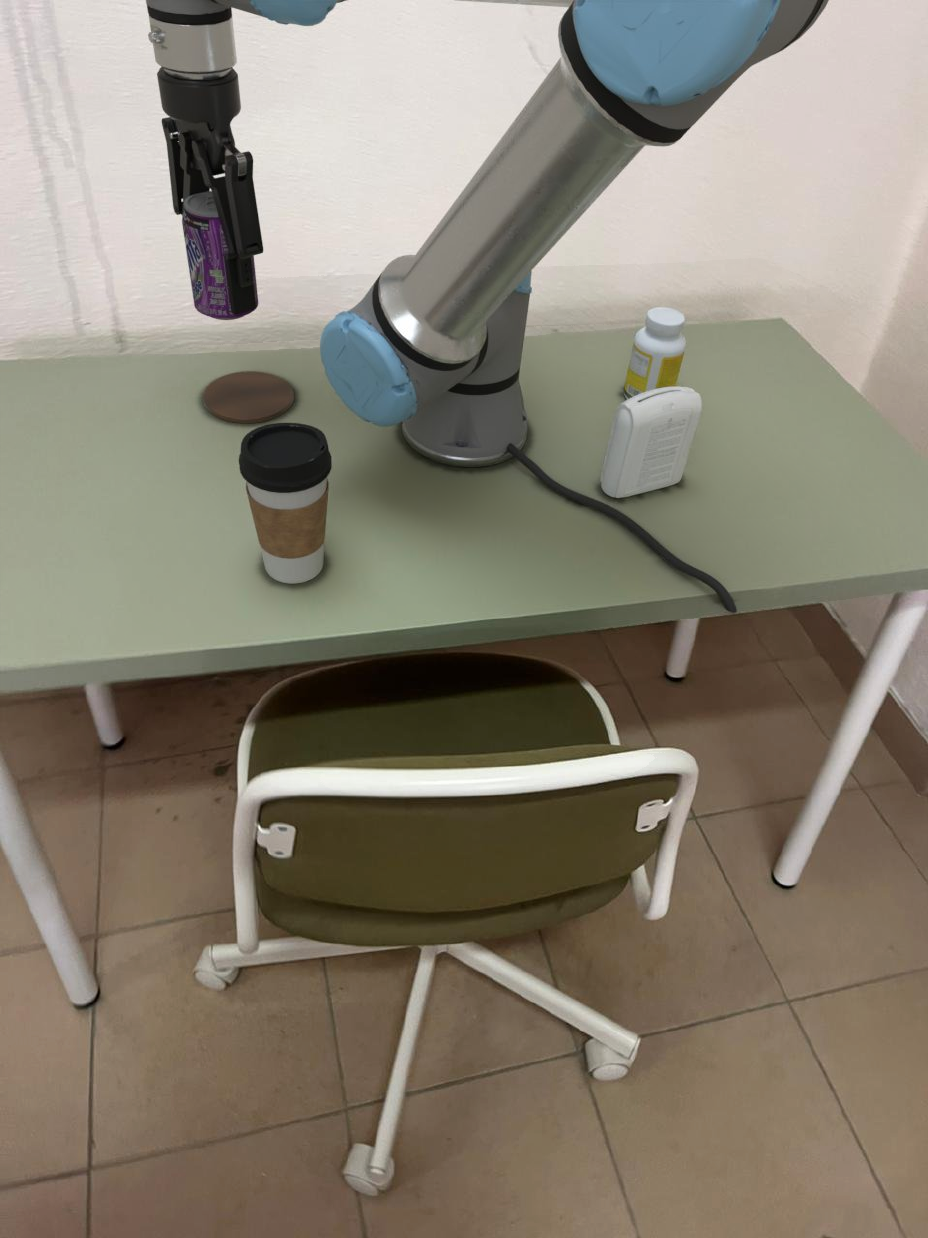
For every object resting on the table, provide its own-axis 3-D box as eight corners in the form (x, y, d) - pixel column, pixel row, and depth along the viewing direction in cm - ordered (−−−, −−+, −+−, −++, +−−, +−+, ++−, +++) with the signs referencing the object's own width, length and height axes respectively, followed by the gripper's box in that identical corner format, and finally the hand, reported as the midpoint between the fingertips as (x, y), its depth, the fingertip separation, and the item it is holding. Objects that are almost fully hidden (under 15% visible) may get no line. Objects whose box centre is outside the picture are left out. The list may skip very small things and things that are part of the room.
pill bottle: (678, 396, 121) (701, 314, 113) (659, 417, 117) (680, 334, 109) (634, 379, 123) (653, 298, 115) (614, 399, 119) (631, 317, 111)
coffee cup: (321, 599, 90) (314, 476, 79) (239, 583, 90) (221, 459, 80) (346, 545, 95) (342, 424, 85) (268, 531, 96) (256, 408, 86)
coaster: (310, 404, 114) (310, 400, 113) (233, 433, 108) (232, 429, 108) (263, 366, 119) (262, 362, 119) (187, 392, 114) (186, 387, 113)
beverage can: (198, 294, 106) (183, 187, 98) (260, 295, 107) (250, 190, 98) (191, 324, 101) (174, 214, 93) (256, 325, 102) (246, 216, 93)
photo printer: (664, 463, 110) (690, 372, 101) (685, 484, 107) (713, 392, 99) (593, 482, 106) (613, 389, 97) (613, 504, 104) (635, 410, 95)
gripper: (111, 45, 90) (152, 272, 106) (216, 102, 80) (244, 342, 96) (180, 36, 93) (209, 257, 110) (289, 90, 84) (303, 323, 100)
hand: (225, 296), depth 103 cm, fingers closed on beverage can, 7 cm apart
